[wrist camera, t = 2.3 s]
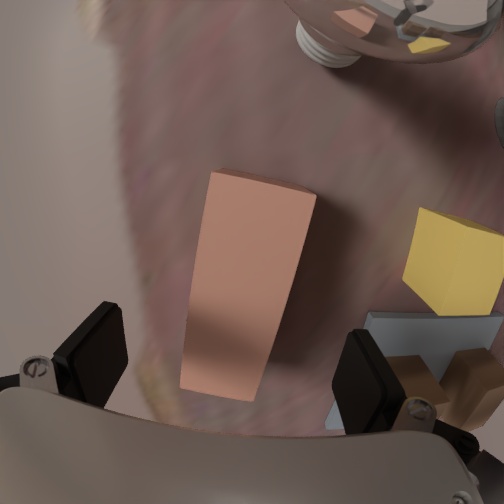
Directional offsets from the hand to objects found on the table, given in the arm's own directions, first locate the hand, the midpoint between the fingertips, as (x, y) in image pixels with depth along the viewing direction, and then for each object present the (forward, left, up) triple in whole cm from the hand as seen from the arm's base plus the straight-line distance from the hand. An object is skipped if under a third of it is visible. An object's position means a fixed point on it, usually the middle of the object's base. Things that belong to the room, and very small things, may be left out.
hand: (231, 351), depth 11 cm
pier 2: (+6, +19, -5) cm, 20 cm away
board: (+6, +15, -5) cm, 17 cm away
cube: (-4, +12, -6) cm, 14 cm away
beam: (-1, 0, -6) cm, 6 cm away
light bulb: (-14, +3, -6) cm, 15 cm away
